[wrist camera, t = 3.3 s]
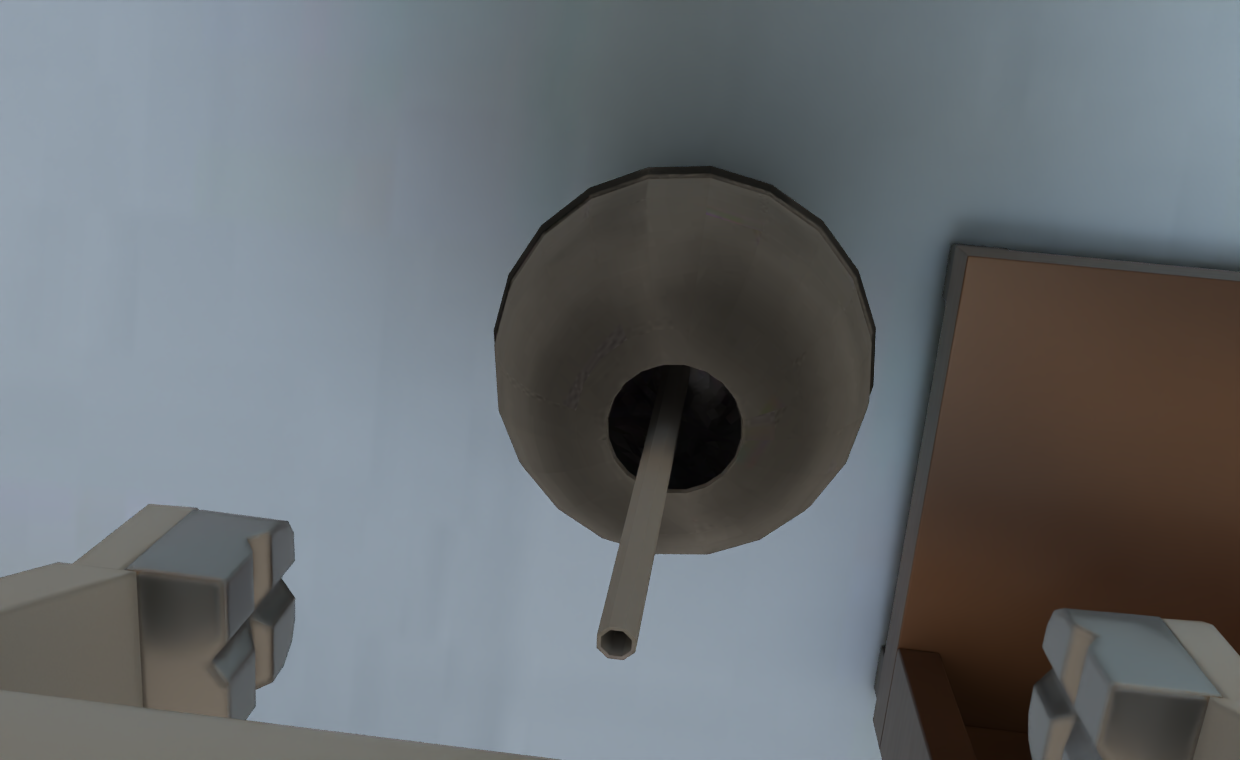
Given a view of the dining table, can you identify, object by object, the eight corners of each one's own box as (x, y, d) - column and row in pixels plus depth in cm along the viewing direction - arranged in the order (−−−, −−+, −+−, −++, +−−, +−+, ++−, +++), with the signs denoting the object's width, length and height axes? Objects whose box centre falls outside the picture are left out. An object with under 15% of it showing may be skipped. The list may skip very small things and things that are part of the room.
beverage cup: (868, 188, 31) (1108, 437, 12) (748, 407, 33) (790, 911, 14) (635, 72, 31) (498, 138, 12) (529, 301, 33) (269, 675, 14)
